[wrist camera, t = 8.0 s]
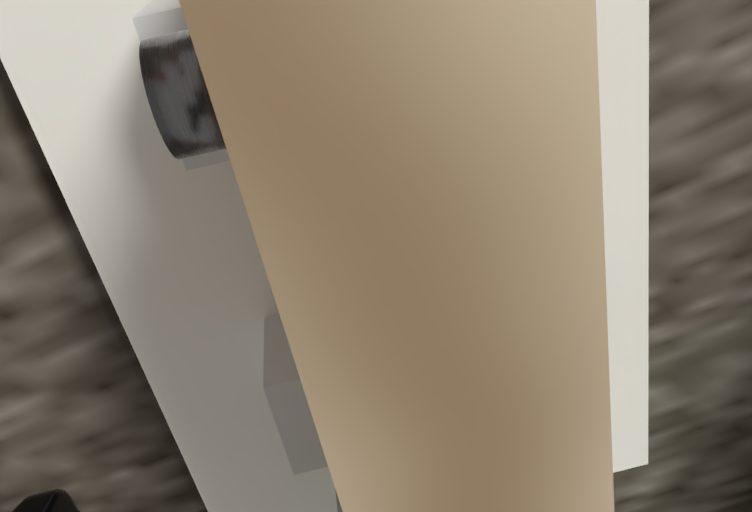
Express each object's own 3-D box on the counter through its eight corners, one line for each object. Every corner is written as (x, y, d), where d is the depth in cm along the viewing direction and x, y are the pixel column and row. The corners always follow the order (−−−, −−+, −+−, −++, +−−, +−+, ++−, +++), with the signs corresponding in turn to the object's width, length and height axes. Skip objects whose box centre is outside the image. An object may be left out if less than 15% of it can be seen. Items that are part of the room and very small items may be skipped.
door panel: (395, -148, 12) (588, -206, 5) (480, 392, 17) (622, 732, 10) (163, -95, 11) (-7, -73, 4) (326, 430, 17) (364, 799, 10)
